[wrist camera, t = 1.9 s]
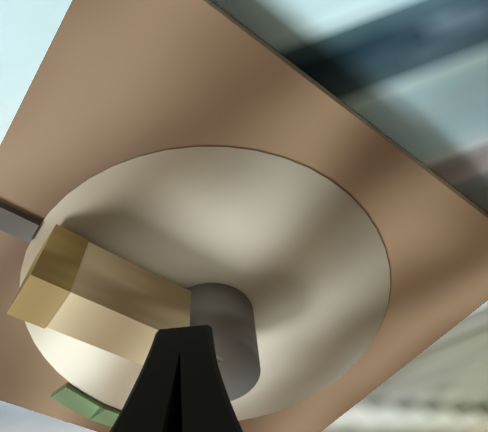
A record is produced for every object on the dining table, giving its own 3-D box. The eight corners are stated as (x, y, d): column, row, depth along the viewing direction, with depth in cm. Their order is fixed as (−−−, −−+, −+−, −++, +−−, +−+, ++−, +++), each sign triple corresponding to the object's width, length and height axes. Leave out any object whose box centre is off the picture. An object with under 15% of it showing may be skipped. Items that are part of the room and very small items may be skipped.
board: (521, 239, 23) (544, 262, 21) (253, 460, 31) (256, 487, 30) (116, -73, 15) (106, -73, 13) (-92, 341, 23) (-113, 370, 22)
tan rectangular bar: (270, 305, 21) (280, 363, 19) (221, 356, 23) (224, 415, 20) (68, 203, 18) (42, 255, 15) (26, 271, 19) (-4, 330, 16)
